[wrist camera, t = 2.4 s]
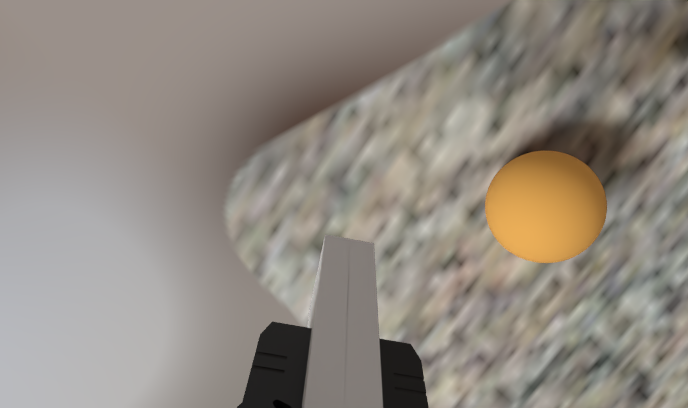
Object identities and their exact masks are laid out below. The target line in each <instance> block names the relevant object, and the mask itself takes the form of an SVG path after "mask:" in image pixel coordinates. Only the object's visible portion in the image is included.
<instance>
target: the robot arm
mask: <svg viewBox="0 0 688 408" xmlns="http://www.w3.org/2000/svg"><path fill="white" fill-rule="evenodd" d="M423 379H424V376H423V370H422V363H421V360H420V358H419V356H418V355H417V353H416V352H415V350H414V349H413V347H412V345H411V344H407V343H402V342H396V341H390V340H384V339H379V324H378V306H377V288H376V270H375V252H374V243H369V242H364V241H359V240H353V239H348V238H342V237H337V236H331V235H326V234H325V238H324V242H323V247H322V252H321V257H320V262H319V266H318V271H317V276H316V281H315V286H314V290H313V295H312V300H311V305H310V312H309V319H308V326H307V328H306V327H300V326H295V325H288V324H282V323H277V322H272V323H271V324H270V325H269V326H268V327H267V328H266V329H265V330H264V331H263V332H262V333H261V334H260V338H259V341H258V345H257V349H256V353H255V357H254V360H253V364H252V368H251V372H250V375H249V379H248V383H247V387H246V391H245V395H244V398H243V402H242V403H241V404H240V405H239V406H238V407H237V408H428V402H427V396H426V389H425V383H424V381H423Z"/></svg>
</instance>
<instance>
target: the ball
mask: <svg viewBox="0 0 688 408" xmlns="http://www.w3.org/2000/svg"><path fill="white" fill-rule="evenodd" d="M606 211H607V201H606V196H605V191H604V189H603V186H602V184H601V182H600V180H599V179H598V177H597V175H596V174H595V173H594V172H593V171H592V170H591V168H590V167H588V166H587V165H586V164H585V163H583V162H582V161H580V160H579V159H577V158H575V157H573V156H571V155H568V154H565V153H562V152H557V151H534V152H530V153H526V154H524V155H521V156H519V157H517V158H515V159H513V160H512V161H510V162H508V163H507V164H506V165H505V166H504V167H503V168H502V169H501V170H500V171H499V172H498V173H497V174H496V175H495V177H494V178H493V180H492V182H491V184H490V186H489V188H488V192H487V195H486V201H485V212H486V218H487V221H488V224H489V227H490V229H491V231H492V233H493V235H494V236H495V238H496V239H497V241H498V242H499V243H500V244H501V245H502V246H503V247H504V248H505V249H507V250H508V251H509V252H511V253H513V254H514V255H516V256H518V257H520V258H523V259H525V260H529V261H533V262H539V263H553V262H560V261H564V260H567V259H570V258H572V257H574V256H576V255H578V254H580V253H581V252H583V251H584V250H586V249H587V248H588V247H589V246H590V245H591V244H592V243H593V242H594V241H595V239H596V238H597V237H598V235H599V233H600V232H601V230H602V228H603V225H604V222H605V219H606Z"/></svg>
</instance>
